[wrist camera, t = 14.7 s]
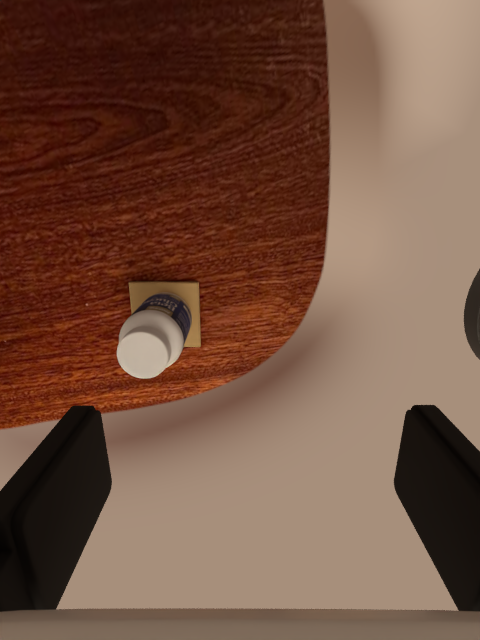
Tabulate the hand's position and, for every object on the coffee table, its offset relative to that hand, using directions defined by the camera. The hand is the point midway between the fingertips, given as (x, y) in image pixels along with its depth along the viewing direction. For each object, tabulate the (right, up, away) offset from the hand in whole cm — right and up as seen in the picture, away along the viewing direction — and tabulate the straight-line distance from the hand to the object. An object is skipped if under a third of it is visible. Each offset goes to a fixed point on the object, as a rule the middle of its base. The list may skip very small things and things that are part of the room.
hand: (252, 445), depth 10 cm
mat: (-8, +4, +25) cm, 27 cm away
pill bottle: (-8, +4, +25) cm, 27 cm away
